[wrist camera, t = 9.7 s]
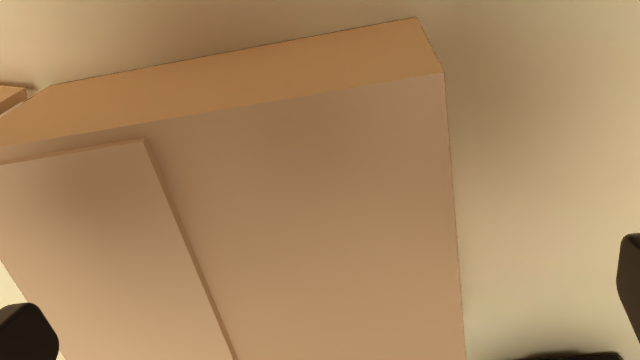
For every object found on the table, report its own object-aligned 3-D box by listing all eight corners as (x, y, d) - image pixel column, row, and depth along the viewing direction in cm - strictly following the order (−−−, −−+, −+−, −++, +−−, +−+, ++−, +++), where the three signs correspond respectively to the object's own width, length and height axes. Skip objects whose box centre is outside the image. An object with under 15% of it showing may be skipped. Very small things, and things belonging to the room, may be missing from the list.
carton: (454, 394, 27) (479, 522, 21) (136, 417, 30) (87, 535, 24) (416, 17, 17) (445, 76, 12) (-53, 104, 20) (-207, 185, 14)
